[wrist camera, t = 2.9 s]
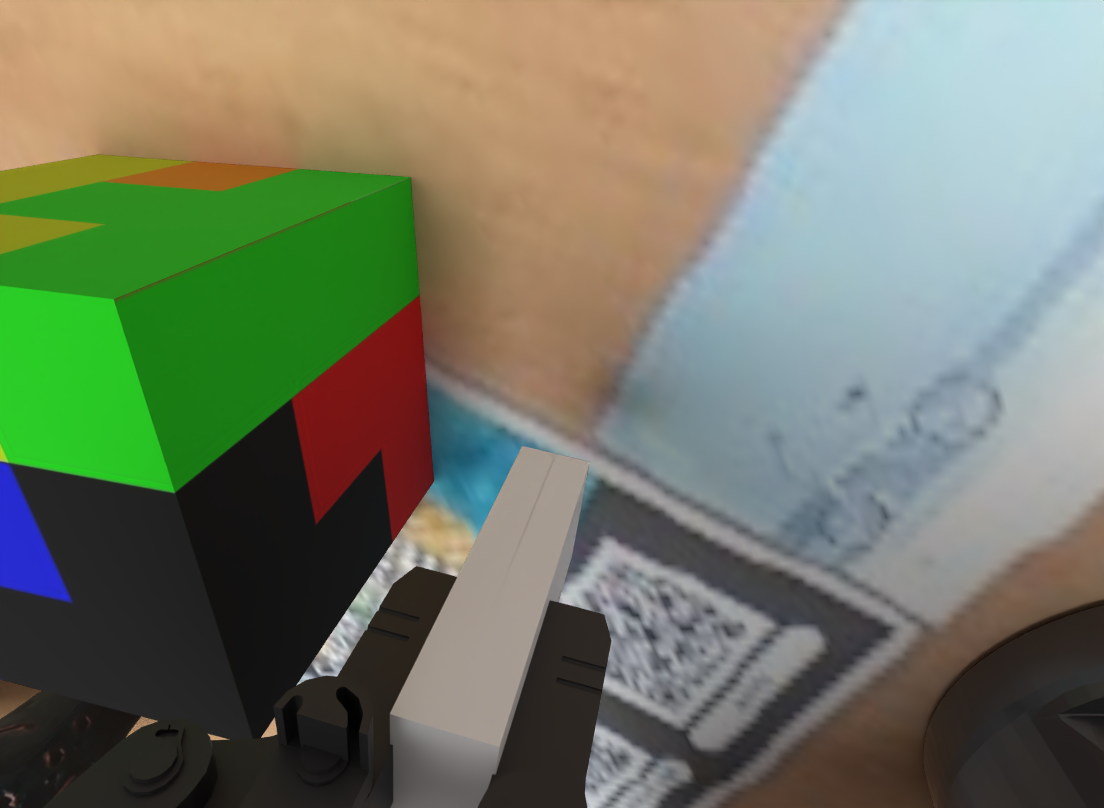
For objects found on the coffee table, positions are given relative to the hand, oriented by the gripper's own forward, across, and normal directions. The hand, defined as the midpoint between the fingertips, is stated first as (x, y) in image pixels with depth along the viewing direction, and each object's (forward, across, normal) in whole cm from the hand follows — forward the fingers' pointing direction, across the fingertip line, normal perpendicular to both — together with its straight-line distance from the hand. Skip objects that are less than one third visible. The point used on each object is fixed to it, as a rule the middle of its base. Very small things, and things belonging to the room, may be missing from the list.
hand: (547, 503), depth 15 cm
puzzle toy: (+6, +10, 0) cm, 12 cm away
